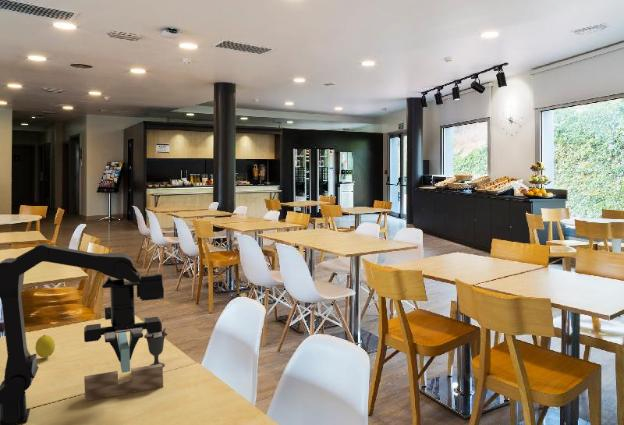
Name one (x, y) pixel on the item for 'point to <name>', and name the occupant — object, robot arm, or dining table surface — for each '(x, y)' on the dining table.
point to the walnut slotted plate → (123, 382)
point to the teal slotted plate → (124, 352)
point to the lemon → (45, 346)
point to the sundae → (156, 345)
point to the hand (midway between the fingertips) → (124, 360)
